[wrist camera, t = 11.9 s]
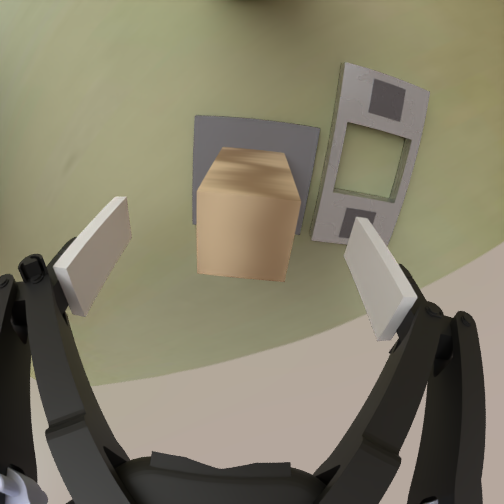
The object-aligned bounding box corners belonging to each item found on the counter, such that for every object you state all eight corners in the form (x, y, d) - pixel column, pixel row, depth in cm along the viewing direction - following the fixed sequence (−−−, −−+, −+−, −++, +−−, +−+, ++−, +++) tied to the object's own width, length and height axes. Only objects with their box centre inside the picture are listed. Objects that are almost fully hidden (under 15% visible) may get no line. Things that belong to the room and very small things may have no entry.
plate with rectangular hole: (309, 233, 26) (311, 240, 25) (341, 63, 17) (345, 62, 16) (382, 242, 26) (386, 249, 25) (422, 90, 17) (430, 91, 16)
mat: (193, 222, 25) (192, 224, 25) (196, 115, 20) (194, 115, 20) (299, 232, 26) (299, 234, 25) (319, 127, 20) (320, 128, 20)
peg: (219, 201, 24) (197, 273, 16) (222, 146, 21) (196, 191, 13) (276, 207, 24) (284, 281, 16) (284, 153, 21) (301, 201, 13)
